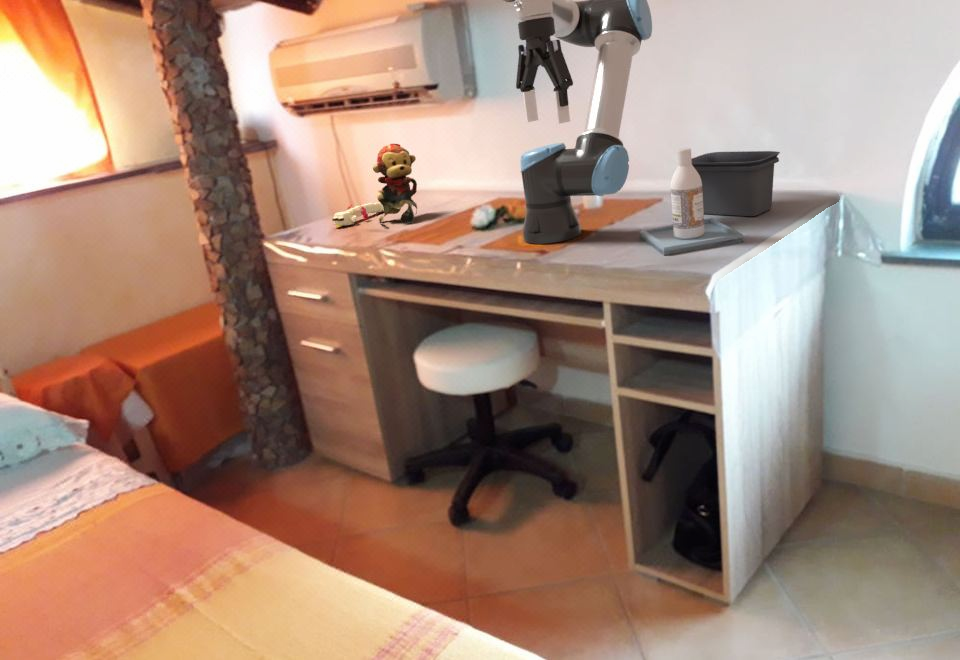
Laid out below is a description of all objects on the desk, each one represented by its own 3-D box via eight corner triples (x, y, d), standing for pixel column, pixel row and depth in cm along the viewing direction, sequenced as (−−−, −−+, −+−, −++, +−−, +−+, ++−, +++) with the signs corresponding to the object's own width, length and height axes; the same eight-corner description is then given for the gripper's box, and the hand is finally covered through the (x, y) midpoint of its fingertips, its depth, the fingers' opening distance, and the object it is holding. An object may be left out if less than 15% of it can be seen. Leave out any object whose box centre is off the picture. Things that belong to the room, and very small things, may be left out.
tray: (640, 237, 190) (640, 230, 189) (712, 225, 191) (712, 218, 190) (664, 255, 173) (663, 247, 173) (742, 241, 174) (742, 234, 173)
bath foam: (692, 241, 177) (687, 152, 170) (667, 238, 182) (661, 152, 175) (710, 233, 181) (706, 146, 174) (686, 230, 186) (681, 146, 179)
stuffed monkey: (362, 223, 250) (359, 143, 247) (401, 222, 262) (399, 146, 259) (393, 223, 240) (390, 139, 237) (432, 222, 252) (430, 143, 249)
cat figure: (377, 214, 277) (325, 227, 258) (374, 189, 275) (321, 201, 256) (398, 214, 271) (346, 227, 252) (394, 189, 269) (342, 200, 250)
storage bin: (682, 216, 204) (679, 161, 199) (716, 201, 213) (713, 149, 208) (757, 221, 188) (756, 162, 183) (790, 205, 197) (789, 148, 192)
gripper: (493, 25, 172) (506, 123, 179) (550, 14, 150) (562, 126, 158) (522, 21, 175) (534, 117, 182) (583, 9, 153) (593, 119, 160)
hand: (547, 122), depth 170 cm, fingers open, 13 cm apart
